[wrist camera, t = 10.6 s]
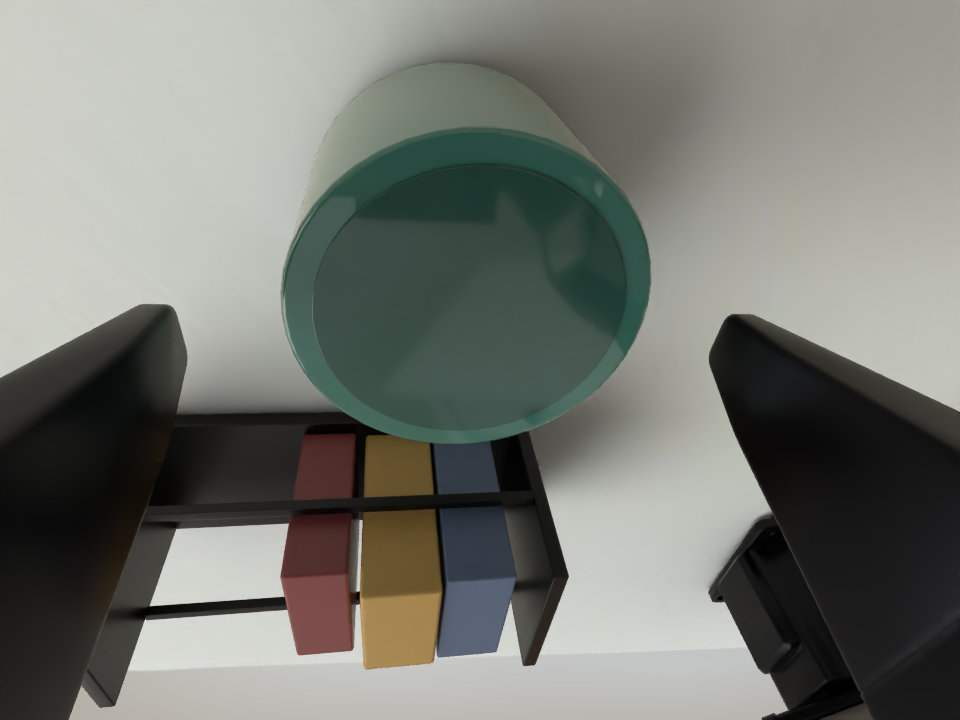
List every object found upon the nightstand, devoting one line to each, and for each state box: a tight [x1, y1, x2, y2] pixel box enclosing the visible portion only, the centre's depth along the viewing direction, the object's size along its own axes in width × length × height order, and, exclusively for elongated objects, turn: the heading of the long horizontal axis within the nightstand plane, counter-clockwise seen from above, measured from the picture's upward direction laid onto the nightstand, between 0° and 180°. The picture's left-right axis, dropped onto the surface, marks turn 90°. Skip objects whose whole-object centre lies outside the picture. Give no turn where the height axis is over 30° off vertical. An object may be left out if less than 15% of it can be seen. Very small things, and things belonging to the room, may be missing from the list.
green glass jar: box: [281, 62, 651, 444], centre depth 11 cm, size 6×6×5 cm
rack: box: [81, 413, 569, 708], centre depth 16 cm, size 12×5×6 cm, turn 84°
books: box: [280, 433, 517, 669], centre depth 16 cm, size 6×4×5 cm
